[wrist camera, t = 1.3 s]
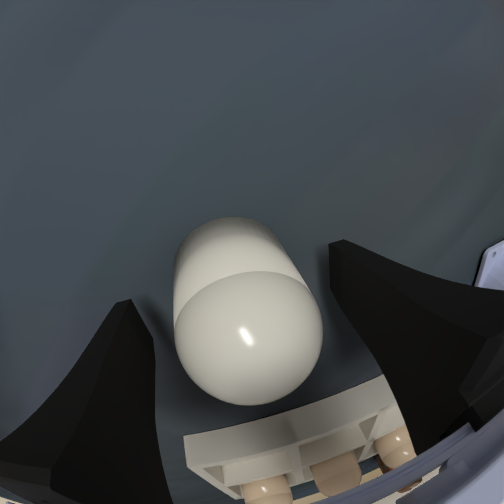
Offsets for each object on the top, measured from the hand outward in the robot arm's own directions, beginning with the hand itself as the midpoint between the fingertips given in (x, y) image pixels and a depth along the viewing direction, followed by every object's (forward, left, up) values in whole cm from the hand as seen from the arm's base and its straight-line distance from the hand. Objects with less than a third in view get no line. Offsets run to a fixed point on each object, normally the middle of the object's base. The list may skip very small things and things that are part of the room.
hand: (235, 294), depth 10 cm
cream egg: (0, 0, -2) cm, 2 cm away
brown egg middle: (-4, +23, -1) cm, 24 cm away
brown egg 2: (-11, +23, -1) cm, 26 cm away
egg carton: (-4, +20, -2) cm, 20 cm away
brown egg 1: (+3, +23, -1) cm, 24 cm away
